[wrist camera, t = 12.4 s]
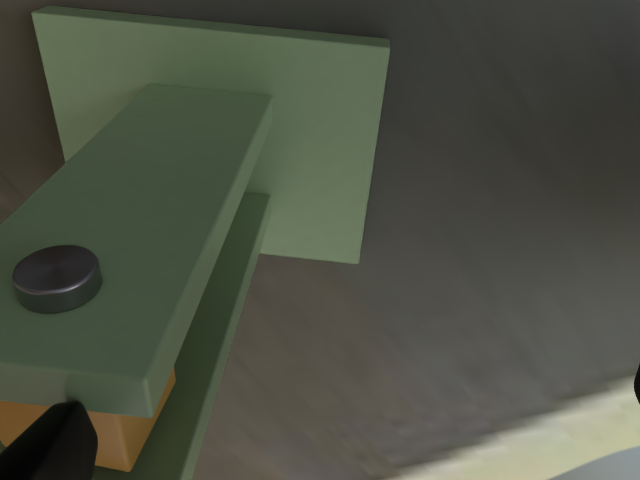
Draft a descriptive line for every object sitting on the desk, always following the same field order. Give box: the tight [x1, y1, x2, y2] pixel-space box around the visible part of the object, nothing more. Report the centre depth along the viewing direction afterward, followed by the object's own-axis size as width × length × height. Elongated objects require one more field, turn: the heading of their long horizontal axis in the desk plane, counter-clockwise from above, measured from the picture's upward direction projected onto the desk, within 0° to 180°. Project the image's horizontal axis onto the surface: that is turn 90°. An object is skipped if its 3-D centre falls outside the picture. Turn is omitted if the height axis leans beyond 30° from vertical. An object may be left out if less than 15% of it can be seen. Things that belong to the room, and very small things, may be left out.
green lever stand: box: [0, 5, 390, 480], centre depth 15 cm, size 12×9×14 cm
